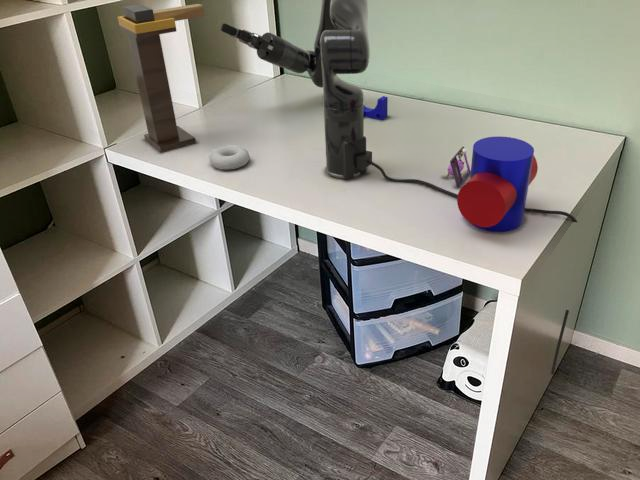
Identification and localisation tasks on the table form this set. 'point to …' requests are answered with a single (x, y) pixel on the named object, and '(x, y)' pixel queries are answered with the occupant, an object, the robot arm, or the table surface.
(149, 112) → the walnut stand
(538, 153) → the table surface
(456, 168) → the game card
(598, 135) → the table surface
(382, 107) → the blue curved block
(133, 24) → the mustard tray
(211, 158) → the donut
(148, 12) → the toy hammer
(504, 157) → the blue red crossed cylinders
